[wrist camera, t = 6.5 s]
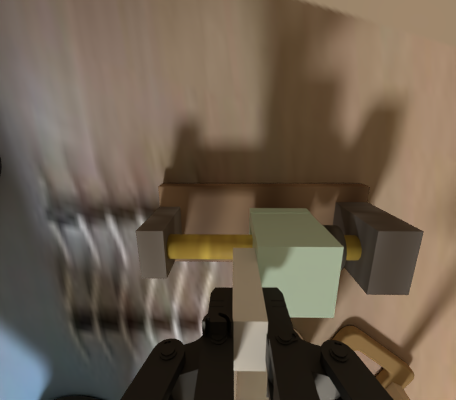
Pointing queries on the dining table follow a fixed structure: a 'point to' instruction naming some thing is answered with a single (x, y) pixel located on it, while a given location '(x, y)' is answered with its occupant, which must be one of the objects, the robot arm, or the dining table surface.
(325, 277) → the sleeve
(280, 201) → the rail
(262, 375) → the candle holder
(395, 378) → the headphone stand
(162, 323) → the dining table surface
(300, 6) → the dining table surface
